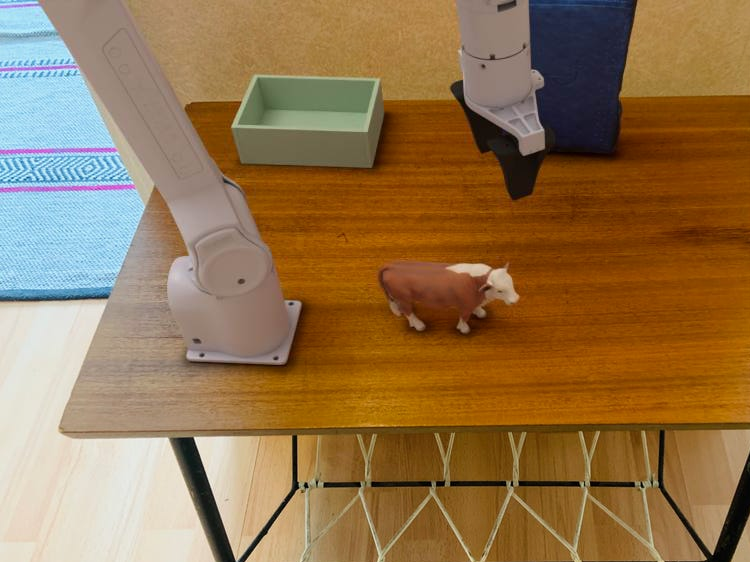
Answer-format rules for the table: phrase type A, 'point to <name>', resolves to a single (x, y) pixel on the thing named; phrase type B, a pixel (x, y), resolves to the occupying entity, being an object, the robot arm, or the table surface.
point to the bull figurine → (444, 288)
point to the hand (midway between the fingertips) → (504, 171)
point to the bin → (309, 121)
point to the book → (580, 69)
